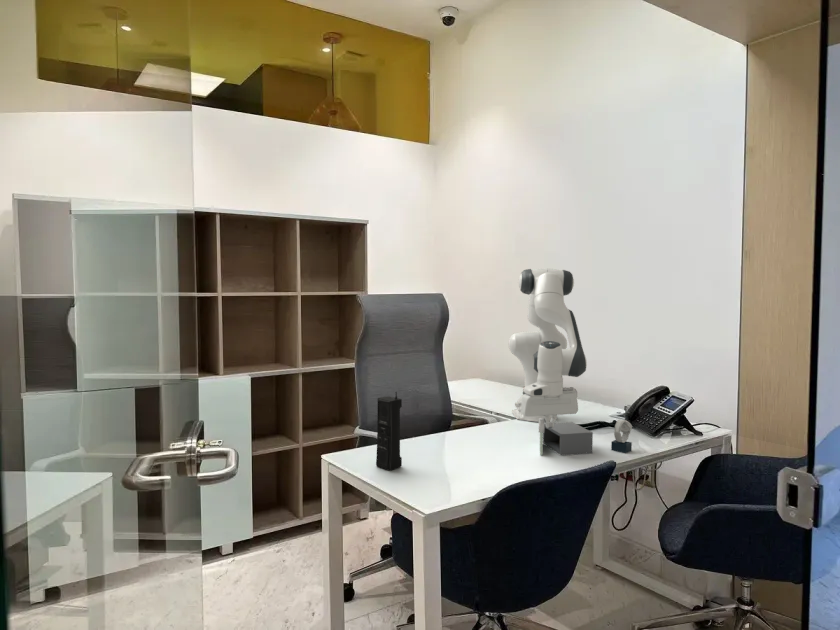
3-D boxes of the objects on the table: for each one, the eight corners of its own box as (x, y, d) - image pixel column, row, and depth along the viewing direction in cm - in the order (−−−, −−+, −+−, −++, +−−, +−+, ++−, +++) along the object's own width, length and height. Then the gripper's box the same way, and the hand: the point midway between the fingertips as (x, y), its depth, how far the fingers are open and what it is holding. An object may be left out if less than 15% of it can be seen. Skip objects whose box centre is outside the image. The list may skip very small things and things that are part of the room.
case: (542, 443, 204) (542, 423, 204) (572, 441, 207) (572, 422, 206) (560, 455, 190) (561, 434, 189) (592, 453, 192) (592, 432, 192)
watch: (633, 449, 196) (634, 419, 196) (624, 454, 191) (624, 423, 190) (618, 446, 200) (619, 417, 200) (608, 451, 195) (609, 420, 194)
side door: (538, 442, 204) (538, 410, 204) (543, 443, 204) (543, 410, 203) (538, 454, 190) (538, 420, 189) (544, 455, 189) (544, 420, 189)
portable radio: (372, 465, 179) (372, 390, 178) (386, 461, 183) (386, 388, 182) (388, 471, 173) (388, 393, 172) (402, 467, 178) (402, 391, 176)
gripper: (572, 385, 195) (572, 423, 196) (519, 387, 191) (519, 426, 191) (581, 388, 189) (581, 427, 189) (526, 391, 184) (526, 431, 185)
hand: (549, 427), depth 190 cm, fingers closed
